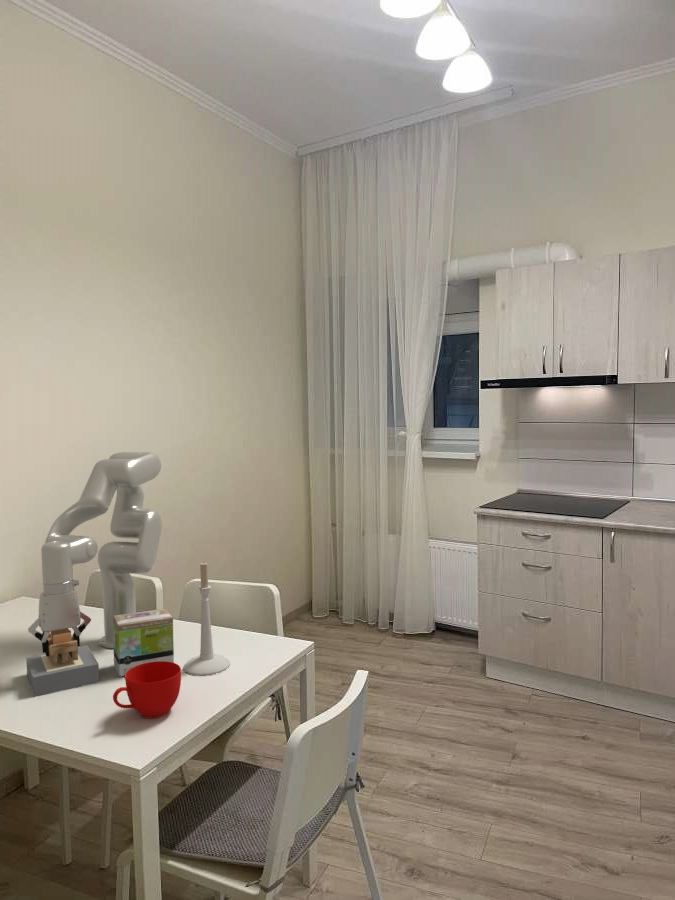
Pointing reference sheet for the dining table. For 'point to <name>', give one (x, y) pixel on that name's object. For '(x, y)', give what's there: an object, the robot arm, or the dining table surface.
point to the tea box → (142, 639)
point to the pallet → (62, 650)
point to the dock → (61, 672)
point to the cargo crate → (60, 636)
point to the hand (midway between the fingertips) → (61, 651)
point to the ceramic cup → (151, 688)
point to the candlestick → (206, 637)
